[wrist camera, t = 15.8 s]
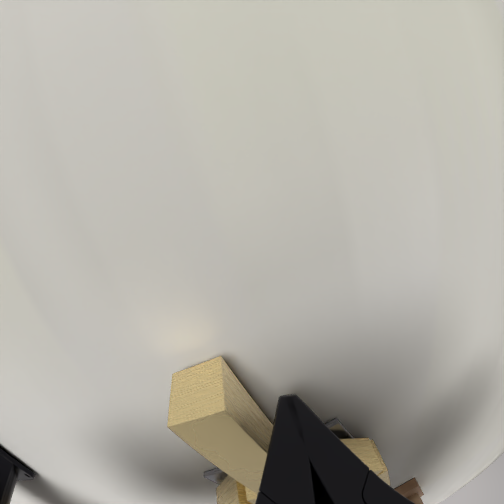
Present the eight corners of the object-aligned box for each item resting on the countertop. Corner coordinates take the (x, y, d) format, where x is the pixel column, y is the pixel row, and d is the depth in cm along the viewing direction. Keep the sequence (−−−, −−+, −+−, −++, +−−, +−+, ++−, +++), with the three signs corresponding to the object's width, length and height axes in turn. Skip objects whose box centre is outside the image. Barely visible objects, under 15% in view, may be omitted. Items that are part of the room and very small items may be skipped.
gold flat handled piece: (380, 471, 13) (391, 494, 11) (259, 513, 14) (263, 537, 12) (330, 307, 8) (360, 353, 6) (94, 398, 8) (81, 443, 6)
